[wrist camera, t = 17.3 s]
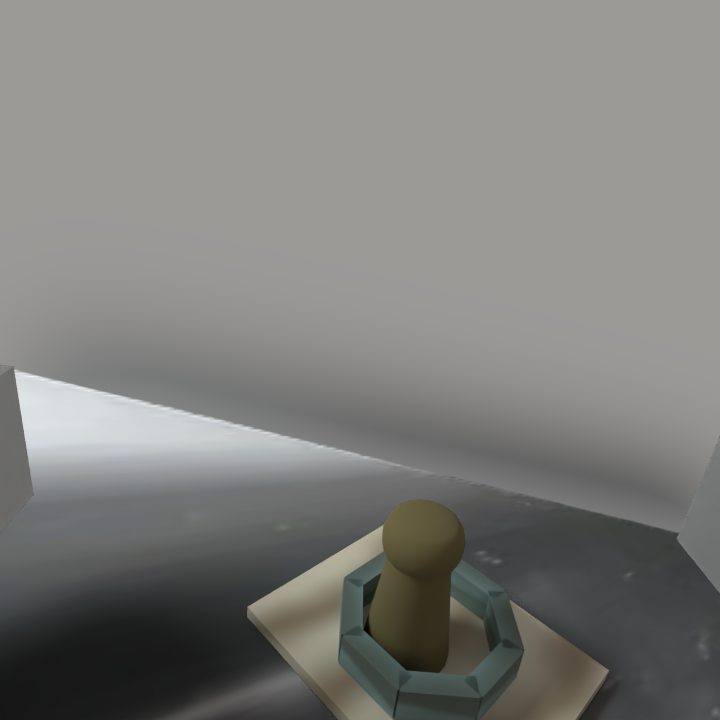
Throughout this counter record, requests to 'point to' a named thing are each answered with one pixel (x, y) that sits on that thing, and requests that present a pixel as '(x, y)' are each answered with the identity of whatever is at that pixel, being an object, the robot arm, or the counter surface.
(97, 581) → the counter surface
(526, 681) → the ring stand
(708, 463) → the robot arm
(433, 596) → the cork
